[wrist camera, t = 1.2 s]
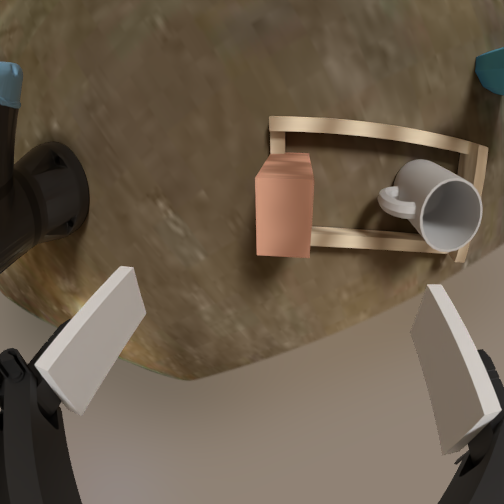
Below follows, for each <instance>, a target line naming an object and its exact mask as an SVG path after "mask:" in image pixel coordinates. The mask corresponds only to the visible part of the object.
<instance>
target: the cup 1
mask: <svg viewBox="0 0 504 504" xmlns="http://www.w3.org/2000/svg"><path fill="white" fill-rule="evenodd" d="M377 199H378V202H379V205H380V207H381V208H382V209H383V210H384V211H385V212H386V213H388V214H390V215H392V216H395V217H399V218H404V219H408V220H409V221H410V223H411V224H412V225H413V226H414V227H415V229H416V230H417V231H418V232H419V234H420V235H421V236H422V237H423V239H424V240H425V241H426V243H427V244H428V245H430V246H431V247H432V248H433V249H435V250H438V251H440V252H451V251H456V250H458V249H460V248H462V247H464V246H465V245H466V244H467V243H468V242H469V241H470V240H471V239H472V238H473V237H474V235H475V234H476V232H477V230H478V228H479V226H480V222H481V218H482V202H481V197H480V195H479V193H478V191H477V189H476V188H475V187H474V186H473V184H472V183H470V182H468V181H467V180H465V179H463V178H461V177H460V176H458V175H456V174H454V173H452V172H451V171H449V170H447V169H445V168H443V167H441V166H439V165H437V164H435V163H433V162H431V161H429V160H423V159H418V160H413V161H411V162H408V163H407V164H406V165H404V166H403V167H402V168H401V169H400V171H399V172H398V174H397V176H396V178H395V181H394V187H388V188H384V189H382V190H381V191H380V192H379V195H378V197H377Z"/></svg>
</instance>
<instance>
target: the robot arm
mask: <svg viewBox="0 0 504 504" xmlns="http://www.w3.org/2000/svg"><path fill="white" fill-rule="evenodd" d="M22 81H23V71H22V69H21V67H20V66H19V65H17V64H16V63H10V62H0V274H1V273H2V272H3V271H4V270H5V269H7V268H8V267H9V266H10V265H11V264H12V263H14V262H15V261H16V260H17V259H18V258H20V257H21V256H22V255H23V254H25V253H26V252H27V251H28V250H30V249H31V248H32V247H34V246H35V245H37V244H39V243H43V242H47V241H51V240H56V239H60V238H64V237H66V236H68V235H70V234H71V233H73V232H74V231H75V230H77V229H78V228H79V227H80V226H81V225H82V224H83V222H84V220H85V218H86V215H87V212H88V206H89V191H88V184H87V180H86V176H85V173H84V170H83V168H82V166H81V164H80V162H79V160H78V159H77V157H76V156H75V155H74V153H73V152H72V151H71V150H70V149H69V148H68V147H66V146H65V145H63V144H61V143H58V142H48V143H44V144H41V145H38V146H36V147H34V148H33V149H31V150H30V151H29V152H28V153H27V154H26V155H24V156H23V157H22V158H21V159H20V160H19V161H18V162H17V163H15V164H14V145H15V134H16V125H17V117H18V110H19V108H20V107H21V103H20V95H21V88H22ZM145 315H146V311H145V308H144V304H143V301H142V297H141V294H140V290H139V287H138V283H137V279H136V276H135V272H134V268H133V267H124V266H120V267H119V268H118V269H117V270H116V271H115V272H114V273H113V274H112V275H111V276H110V277H109V278H108V280H107V281H106V282H105V283H104V284H103V285H102V286H101V287H100V288H99V289H98V290H97V291H96V292H95V293H94V295H93V296H92V297H91V298H90V299H89V300H88V301H87V302H86V303H85V304H84V306H83V307H82V308H81V309H80V310H79V311H78V312H77V314H76V315H75V316H74V317H73V318H72V319H69V320H67V321H66V322H64V323H63V324H61V325H60V326H59V327H58V329H57V330H56V331H55V332H54V335H52V336H51V337H50V338H49V339H48V342H46V343H45V344H44V345H43V346H42V348H41V349H40V350H39V352H38V353H37V354H36V355H35V356H34V358H33V359H32V360H31V361H30V363H29V364H28V365H27V364H26V362H25V360H24V359H23V357H22V356H21V355H20V353H19V352H18V350H17V349H14V348H10V349H7V350H5V351H3V352H2V353H1V354H0V408H1V412H0V504H82V502H81V499H80V495H79V492H78V489H77V485H76V482H75V478H74V474H73V470H72V466H71V461H70V458H69V452H68V447H67V443H66V436H65V431H64V424H63V418H62V411H61V408H60V407H59V405H60V403H61V402H62V403H63V404H64V405H65V406H66V407H67V409H68V410H70V411H72V412H74V413H76V414H78V415H81V416H82V415H83V413H84V412H85V410H86V408H87V407H88V404H89V403H90V402H91V400H92V398H93V397H94V395H95V393H96V392H97V390H98V388H99V387H100V385H101V383H102V381H103V380H104V378H105V377H106V375H107V373H108V372H109V370H110V369H111V367H112V365H113V364H114V362H115V360H116V359H117V357H118V356H119V354H120V353H121V351H122V350H123V348H124V346H125V345H126V343H127V342H128V340H129V339H130V337H131V336H132V334H133V333H134V331H135V330H136V328H137V327H138V325H139V324H140V322H141V320H142V319H143V317H144V316H145ZM410 333H411V336H412V339H413V342H414V345H415V348H416V351H417V354H418V357H419V361H420V364H421V367H422V370H423V374H424V377H425V381H426V384H427V388H428V391H429V395H430V400H431V404H432V407H433V412H434V416H435V420H436V425H437V430H438V434H439V439H440V445H441V450H442V455H446V454H451V453H454V452H458V451H460V450H461V449H462V448H463V447H464V446H466V445H467V444H468V447H469V450H468V451H467V452H466V453H465V454H464V455H462V456H461V457H460V458H459V459H457V461H456V462H455V463H454V464H458V463H459V462H460V461H462V462H461V464H460V466H459V468H458V470H457V472H456V473H455V475H454V477H453V479H452V481H451V483H450V485H449V486H448V488H447V490H446V491H445V493H444V495H443V496H442V498H441V500H440V501H439V502H438V504H504V387H503V384H502V382H501V380H500V379H499V375H498V373H497V371H495V366H494V364H493V362H492V360H491V358H490V357H489V356H488V355H487V354H486V352H485V351H483V349H482V350H477V349H476V347H475V345H474V343H473V341H472V339H471V337H470V335H469V333H468V331H467V329H466V327H465V325H464V323H463V321H462V320H461V318H460V316H459V314H458V312H457V311H456V309H455V307H454V305H453V303H452V302H451V300H450V298H449V297H448V295H447V293H446V291H445V290H444V288H443V287H442V285H432V284H427V287H426V290H425V293H424V296H423V299H422V301H421V305H420V307H419V310H418V313H417V315H416V318H415V321H414V323H413V326H412V328H411V331H410Z"/></svg>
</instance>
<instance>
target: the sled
mask: <svg viewBox="0 0 504 504" xmlns="http://www.w3.org/2000/svg"><path fill="white" fill-rule="evenodd" d="M269 131H270V155H269V157H268V158H267V160H266V161H265V163H264V165H263V166H262V168H261V169H260V171H259V173H258V174H257V176H256V177H255V191H256V241H257V255H263V256H281V257H300V258H309V257H310V246H325V247H343V248H361V249H378V250H395V251H411V252H427V253H442V254H449V255H450V256H451V258H452V259H453V260H454V261H455V262H464V261H465V258H466V255H467V252H468V248H469V245H470V241H471V240H470V241H469V242H468V243H467V244H466V245H465V246H464V247H462V248H460V249H458V250H456V251H451V252H440V251H438V250H435V249H433V248H432V247H431V246H430V245H428V244H427V243H426V241H425V240H424V239H423V237H422V236H421V235H420V234H416V233H404V232H391V231H377V230H363V229H347V228H331V227H313V226H312V214H313V196H314V176H313V171H312V167H311V162H310V157H309V153H285V131H294V132H316V133H332V134H345V135H355V136H365V137H374V138H382V139H389V140H396V141H403V142H409V143H415V144H421V145H426V146H432V147H437V148H442V149H446V150H451V151H456V152H460V158H459V166H458V173H457V175H458V176H460V177H461V178H463V179H465V180H467V181H468V182H470V183H472V184H473V186H474V187H475V188H476V189H477V191H478V193H479V195H480V197H481V195H482V189H483V184H484V178H485V171H486V164H487V156H488V147H486V146H483V145H480V144H477V143H473V142H470V141H466V140H463V139H459V138H455V137H450V136H446V135H442V134H437V133H432V132H428V131H423V130H417V129H412V128H406V127H400V126H394V125H387V124H380V123H372V122H364V121H355V120H344V119H332V118H317V117H294V116H269Z"/></svg>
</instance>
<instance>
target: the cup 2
mask: <svg viewBox="0 0 504 504" xmlns="http://www.w3.org/2000/svg"><path fill="white" fill-rule="evenodd" d="M475 72H476V74H477V76H478V78H479V80H480V82H481V84H482V86H483V87H485V88H486V89H488V90H489V91H491V92H493V93H495V94H499V95H504V47H502V48H499V49H496V50H493V51H490V52H487V53H484V54H482V55H480V56H478V57H476V67H475Z"/></svg>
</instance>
